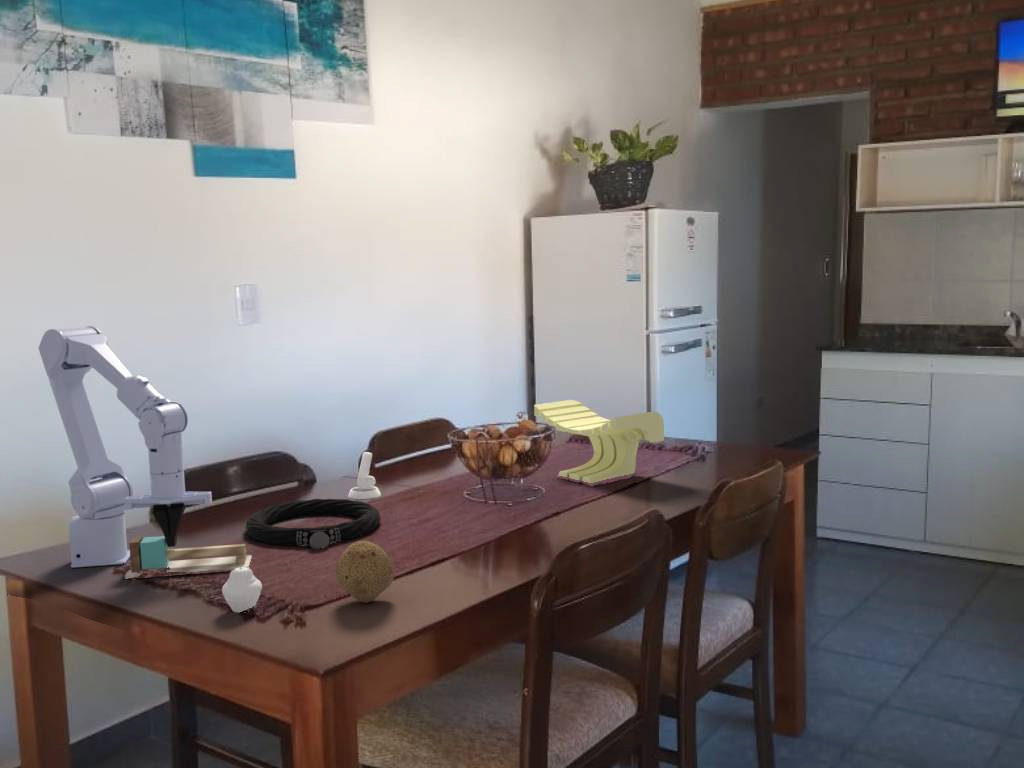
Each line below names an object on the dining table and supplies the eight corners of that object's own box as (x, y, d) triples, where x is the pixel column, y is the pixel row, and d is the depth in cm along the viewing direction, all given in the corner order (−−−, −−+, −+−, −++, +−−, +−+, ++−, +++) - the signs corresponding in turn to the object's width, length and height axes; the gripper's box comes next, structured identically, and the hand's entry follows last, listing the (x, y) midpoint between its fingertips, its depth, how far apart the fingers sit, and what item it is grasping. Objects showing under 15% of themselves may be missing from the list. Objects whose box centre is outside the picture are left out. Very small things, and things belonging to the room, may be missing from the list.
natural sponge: (324, 605, 155) (321, 544, 154) (360, 588, 162) (358, 530, 161) (368, 614, 150) (365, 552, 149) (403, 597, 158) (401, 537, 156)
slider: (142, 569, 172) (140, 543, 171) (146, 563, 176) (144, 537, 175) (165, 567, 173) (163, 541, 172) (169, 561, 176) (167, 535, 176)
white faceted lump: (269, 610, 153) (266, 567, 152) (231, 619, 150) (228, 575, 149) (254, 600, 158) (252, 558, 157) (217, 608, 155) (215, 565, 154)
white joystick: (384, 466, 238) (387, 454, 232) (377, 511, 232) (380, 501, 226) (354, 461, 237) (356, 449, 231) (346, 506, 231) (348, 495, 225)
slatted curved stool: (664, 482, 236) (663, 409, 234) (616, 492, 226) (615, 417, 224) (581, 464, 259) (580, 398, 257) (535, 473, 250) (534, 404, 248)
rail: (125, 580, 170) (122, 545, 169) (133, 568, 177) (131, 535, 176) (248, 570, 174) (246, 536, 173) (251, 559, 181) (250, 526, 180)
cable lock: (371, 492, 218) (390, 525, 189) (372, 508, 219) (391, 544, 190) (244, 502, 211) (244, 538, 182) (245, 520, 211) (245, 558, 183)
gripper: (119, 478, 168) (124, 554, 169) (206, 473, 170) (211, 548, 172) (127, 470, 174) (133, 543, 176) (211, 465, 177) (215, 537, 179)
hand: (172, 545), depth 174 cm, fingers closed
